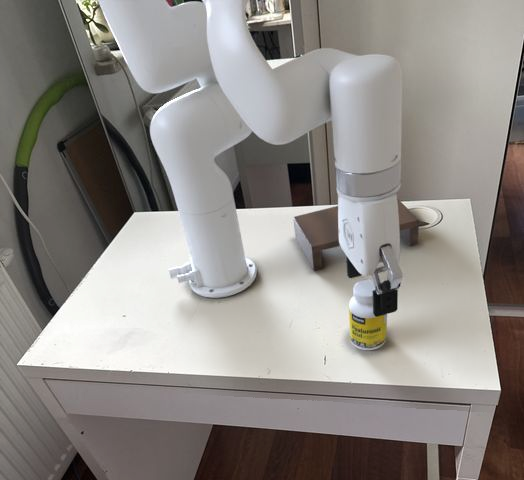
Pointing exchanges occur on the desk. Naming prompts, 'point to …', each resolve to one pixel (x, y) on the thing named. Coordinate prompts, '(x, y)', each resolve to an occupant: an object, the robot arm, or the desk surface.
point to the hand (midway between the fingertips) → (371, 293)
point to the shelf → (327, 235)
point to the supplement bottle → (365, 318)
